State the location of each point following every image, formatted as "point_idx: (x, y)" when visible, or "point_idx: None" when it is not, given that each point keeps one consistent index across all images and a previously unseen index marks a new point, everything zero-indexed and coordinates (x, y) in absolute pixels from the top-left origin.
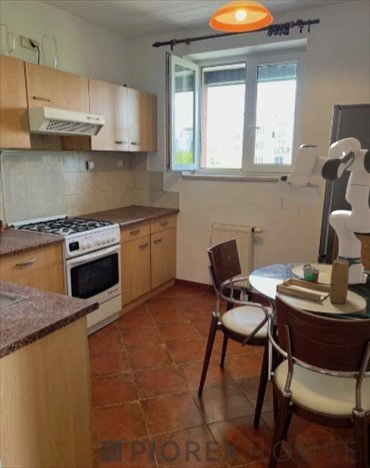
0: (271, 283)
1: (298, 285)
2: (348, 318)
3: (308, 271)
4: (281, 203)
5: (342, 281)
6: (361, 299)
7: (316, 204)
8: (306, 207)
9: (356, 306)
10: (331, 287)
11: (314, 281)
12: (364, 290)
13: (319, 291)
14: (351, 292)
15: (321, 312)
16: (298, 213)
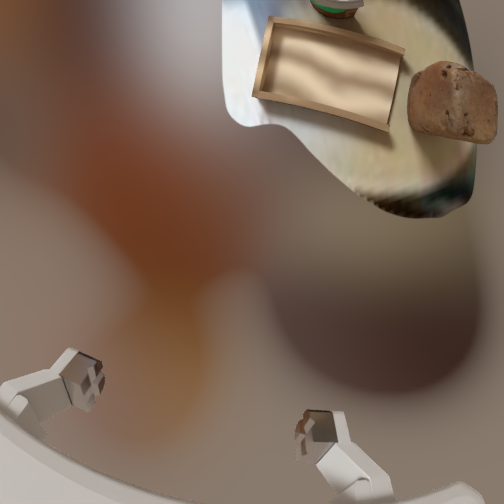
0: (224, 43)
1: (303, 31)
2: (443, 212)
3: (327, 4)
4: (56, 403)
5: (458, 139)
6: None
7: (471, 499)
8: (375, 484)
9: None
10: (423, 130)
11: (347, 13)
12: (462, 18)
13: (372, 58)
14: (442, 36)
15: (392, 197)
16: (298, 425)
